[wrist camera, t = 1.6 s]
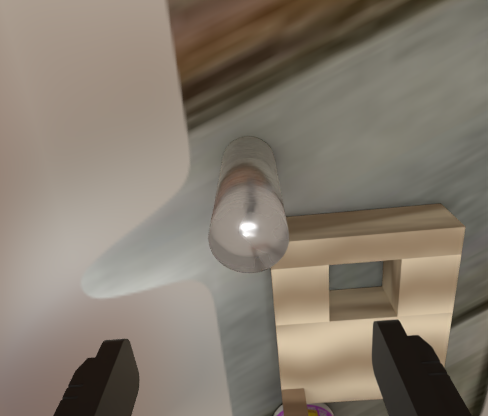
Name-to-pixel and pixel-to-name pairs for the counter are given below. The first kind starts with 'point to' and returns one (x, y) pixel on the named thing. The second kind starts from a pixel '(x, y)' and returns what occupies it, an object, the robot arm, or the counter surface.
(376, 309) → the socket block
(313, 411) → the supplement bottle
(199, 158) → the counter surface
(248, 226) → the peg
